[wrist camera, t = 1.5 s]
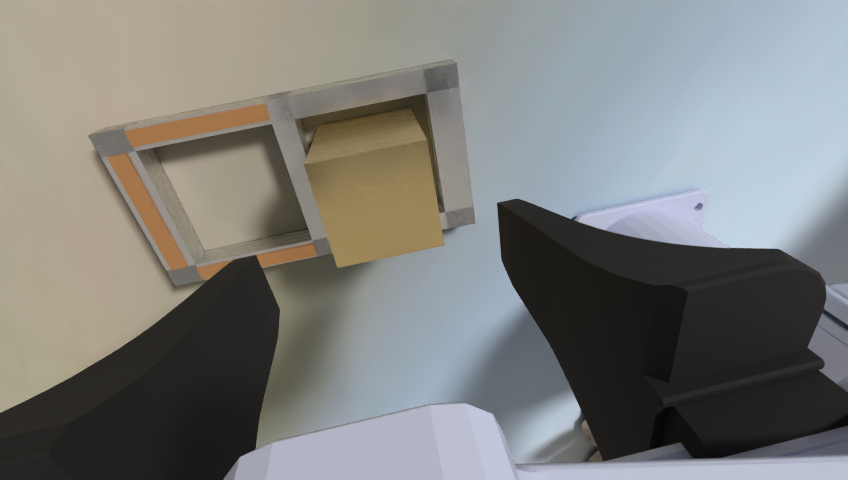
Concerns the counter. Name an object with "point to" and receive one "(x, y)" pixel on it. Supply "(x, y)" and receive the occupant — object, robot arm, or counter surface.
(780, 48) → the counter surface
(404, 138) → the tan wooden block
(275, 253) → the grey rectangular frame
